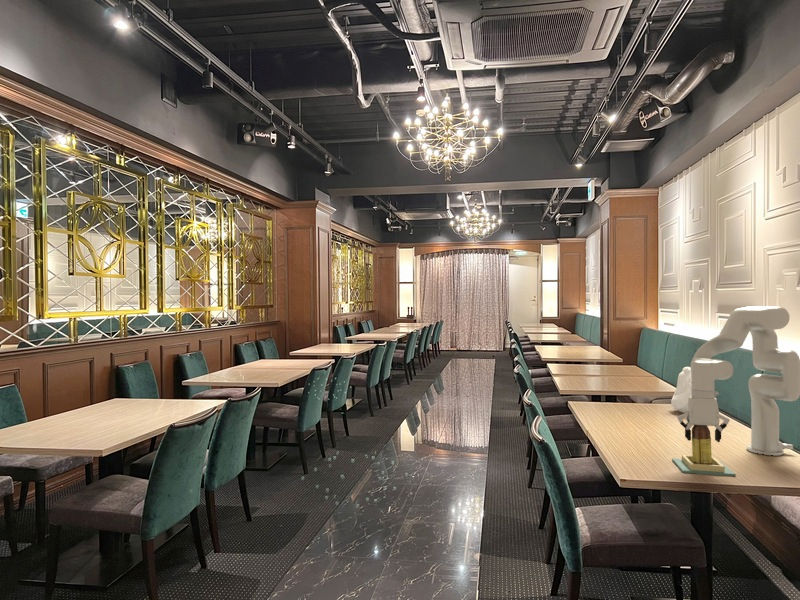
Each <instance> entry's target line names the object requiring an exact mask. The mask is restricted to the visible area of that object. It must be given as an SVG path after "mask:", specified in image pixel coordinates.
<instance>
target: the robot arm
mask: <svg viewBox="0 0 800 600" xmlns="http://www.w3.org/2000/svg"><path fill="white" fill-rule="evenodd" d="M790 317H791V316H790V313H789V311H788V309H786V308H785V307H783V306H763V305H762V306H761V305H759V306H755V305H754V306H745V307H739V308H736V309H734V310H732V311H731V313H730V314H729V316H728V318H727V319H726V322H725V323H724V326H723V328H722V329H721V331H720V332H719V334H718V335H717V336H715V337H713V338H711V339H709V340H708V341H706V342H705V343H704V344H701V346H700V347H699V348H698V349H697V350H696V351H695V353H694V356H692V359H691V361H690V366H689V367H690V369H691V388H692V389H691V397H689V399H688V404H687V413H682V414H680V415H677V416H676V419H677V420H678V422H679V424H680V425H681V426H682V427H683V428H684V437H685V438H686V441H692V428H693V426H694V425H704V426H709V427H715V430H714V440H715V441H716V442H717V443H720V442H721V440H722V432H723V430H724V429H725V428H727V426H728V425H729V422H730V419H729V418H728V417H726V416H724V415H722V414H720V411H719V410H720V409H719V404H718V399H717V398H716V396H719V395H720V392H719V391H716V390H715V389H716V388H715V381H716V380H720V381H725V380H728V379H730V378H732V376H733V374H734V372H735V371H734V366H733V365H732V363H731V362H729V361H728V360H725V359H720V358H719V359H718V358H713V357H715V356H717V355H720V354H723V353H727V352H731V351H735V350H737V349H740V348H741V347H742V346H743V345H744V342H745V341H746V339H747V337H748V335H749V333H750V334H751V338H752V364H753V367H754V368H755V369H757V370H759V371H763V372H770V373H780V374H781V375H777V374H776V375H775V374H768V373H767V374H766V373H757V374H753V375H752V376H750V378H749V379H748V389H749V390H748V391H749V394H750V400H751V401H750V403H751V409H750V412H751V414H750V415H751V416H750V417H751V421H750V422H751V423H750V424H751V425H750V426H751V428H750V429H751V431H750V432H751V434H750V435H751V437H750V438H751V439H750V444H749V445H747V446H746V450H747V451H748V452H751V453H754V454H757V453H758V454H759V455H762V454H764V456H771V455H773V456H775V457H777V456H783V455H784V453H785V452H784V451H785V449H786V450H794V445H793V444H792V443H791V444H789V443H785V442H784V443H782V441H780V409H779V406H778V404H777V402H776V401H775V400H778V401H785V402H796V401H797V400H798V399H799V398H800V356H799V355H798V353H797V352H796V351H794V350H791V349H787V348H786V349H785V348H779V345H778V335H777V333H776V330H780V329H781V330H782V329H784V328H785V327H787V326H788V324H789V323H790ZM685 418H686V421H687V422H686V423H685V422H684V419H685ZM720 420H723V422H722V423H720ZM719 424H720V425H719ZM758 454H757V455H758Z"/></svg>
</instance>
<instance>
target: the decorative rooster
mask: <svg viewBox="0 0 800 600" xmlns="http://www.w3.org/2000/svg"><path fill="white" fill-rule="evenodd" d="M676 383H677V384H676V388H675V391H674V392H673V393H674V394H673V396H672V398H671V400H670V402H671V407H672V408H673V409H674V410H676V411H678V412H680V413H682V414H684V413H687V404H688V399H689V397H691V389H692V388H691V369H690V366H685V367H683V368H682V371H681V372H679V374H678V375H677V382H676Z"/></svg>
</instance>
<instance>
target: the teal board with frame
mask: <svg viewBox="0 0 800 600" xmlns="http://www.w3.org/2000/svg"><path fill="white" fill-rule="evenodd" d="M671 459H672V462H673V463H674V465H676V467H677V468H678V469H679V470H680V471H681V473H682V474H694V473H696V475H713V476H722V475H724V477H736V475H737V474H736V473H735V472H734V471H733V470H732V469H730V468H729V467H728V466H727V465H726V464H725V463H723V462H722V461H719V460H718V459H717V458H716V457H714V456H712V465H705V464H693V456H692V455H688V454H687V455H686V454H682V455H681V458H671Z"/></svg>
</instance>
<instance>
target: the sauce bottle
mask: <svg viewBox="0 0 800 600" xmlns="http://www.w3.org/2000/svg"><path fill="white" fill-rule="evenodd" d="M691 445H692V446H691V449H692V451H691V454H692V455H691V456H693V464H705V465H712V457H713V455H712V453H713V452H712V437H711V431H710V429H709V427H708V426H704V425H693V426H692V427H691Z"/></svg>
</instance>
